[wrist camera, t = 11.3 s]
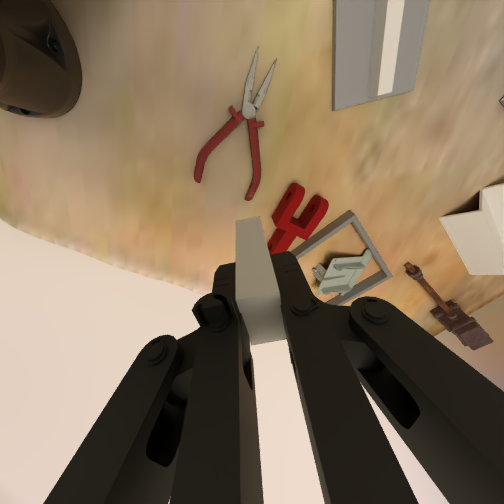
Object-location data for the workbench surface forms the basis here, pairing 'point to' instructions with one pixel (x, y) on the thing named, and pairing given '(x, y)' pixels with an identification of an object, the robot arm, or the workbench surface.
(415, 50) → the rail board
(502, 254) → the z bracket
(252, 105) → the pliers
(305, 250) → the bracket parts frame
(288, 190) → the mechanical linkage
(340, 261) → the metal bracket
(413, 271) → the hammer
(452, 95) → the workbench surface
